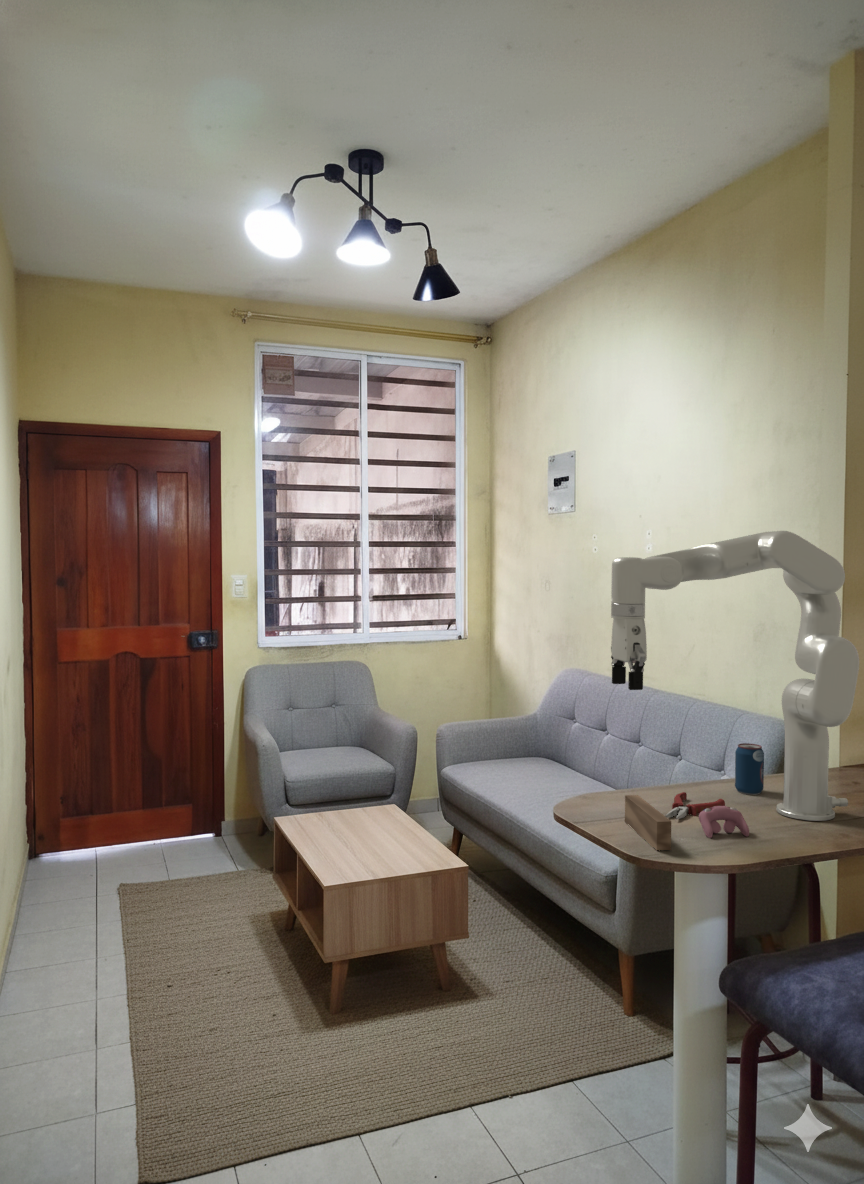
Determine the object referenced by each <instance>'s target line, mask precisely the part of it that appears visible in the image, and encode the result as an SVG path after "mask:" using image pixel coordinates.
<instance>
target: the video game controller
mask: <svg viewBox="0 0 864 1184" xmlns="http://www.w3.org/2000/svg"><path fill="white" fill-rule="evenodd" d="M698 821H699V822H700V825H701V828H702V830H703V833H704V834H705V835H706V837H707V838H708V839H712V838H713V834H718V833H720V832H721V831H722V829H723V831H724V832H725V833H726V834H731V833H733V832H734V831H735V828H736V827H737V829H738V830H739V831H740V833H741V834H742V835H743V836H744V837H749V835H750V829H749V826H748V824H747V822H746V820H745V818H744V816H743V813H742V812H740V810H739V809H738V808H737V807H730V806H727V805H725V806H714V807H710V808H707V809H704V810H703V811H702V812H700V813H699V814H698ZM718 821H724V823H723V825H722V826H721V824H720V823H719V822H718Z"/></svg>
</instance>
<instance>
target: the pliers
mask: <svg viewBox="0 0 864 1184" xmlns="http://www.w3.org/2000/svg"><path fill="white" fill-rule="evenodd" d="M687 797H688V796H687V792H685V791H682V792H680V793H677V794H676V795H675V796H674V799H673V803H672V805H671V807H672V808H671V810H670V811H669V812H667V813H666V814H665V815H664V816H665V817H666V818H668V819H669V818H674V817H673V816H675V820H680V819H684V818H686V817H687V816H688V814H689V816H690V814H691V816H693V817H697V814H698V815H699V814H700V812H702V811H703V810H704V809H707V808H710V807H714V806H726V802H725V800H724V799H722V798H719V799H717V800H716V801H710V802H701V803H694V804H690V803H688V804H685V805H684V800H685V801H686V800H687V799H688V798H687ZM677 814H678V815H677ZM685 816H686V817H685Z"/></svg>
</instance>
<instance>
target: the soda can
mask: <svg viewBox="0 0 864 1184" xmlns="http://www.w3.org/2000/svg"><path fill="white" fill-rule="evenodd" d="M762 747H763V746H762V745H761V744H756V743H748V742H745V743H738V744H737V748H736V750H735V753H734V754H735V757H734V758H735V759H734V761H735V762H734V763H735V764H734V787H735V789H736V791H737V792H738V793H739V794H744V795H748V796H749V795H750V796H751V795H752V796H755V795H760V794H761V793H762V792H763V790H764V785H765V784H764V780H765V779H764V778H765V777H764V774H765V752H764V750H763V748H762Z"/></svg>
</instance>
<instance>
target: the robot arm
mask: <svg viewBox="0 0 864 1184" xmlns="http://www.w3.org/2000/svg"><path fill="white" fill-rule="evenodd" d="M769 569H781V570H782V571H783V572H782V577H783V581H784V584H786V586H787V588H789V590H790V591H792V593H794V595H795V596H796V598H797V600H798V602H799V606H800V612H801V613H800V622H799V628H798V633H797V640H796V646H795V652H794V659H795V664H796V665H797V667H798V668H799V669H801V670H802V671H804V672H805V673H809V674H811V675H815V676H814V677H815V678H814V679H812V678H797V679H794V680H792V681H790V682H789V683H788V684H787V685H786V686H785V687H784V689H783V691H782V695H781V708H782V709H781V710H782V715H783V723H784V724H783V725H784V754H783V755H784V759H783V760H784V761H783V762H784V763H783V764H784V765H783V802H779V803H777V804H776V810H775V811H776V812H777V813H778V814H779V815H782V816H785V817H787V818H790V819H791V818H792V819H797V820H802V821H812V822H814V821H817V822H821V821H822V822H823V821H829V820H833V819H834V818H835V817H836V816H835V815H836V813H835V810H834V809H835V808H836V807H848V805H849V800H848V799H847V798H846V797H836V796H832V795H829V758H830V737H829V730H828V728H834V727H838V726H840V725H842V724H843V723H845V722H846V721H847V720H848V718H849V716H850V714H851V712H852V709H853V704H854V701H855V700H854V699H855V695H856V694H855V693H856V689H857V688H856V687H857V683H858V677H859V671H860V670H859V669H860V657H859V656H860V655H859V652H858V649H857V648H856V646H855V645H854V643H852V642H851V640H849V639H847V638H845V637H843V636H840V628H841V619H842V618H841V617H842V609H841V604H840V603H841V602H840V600H839V598H838V596H837V593H836V592H838V591H839V590H840V589H841V588H842V587H843V586H844V583H845V580H846V574H845V573H846V572H845V569H844V567H843V565H842V563H840V561H839V560H838V559H837V558H835V557H834V556H832V555H830V554H829V553H828V552H826V551H824V550H823V549H821V548H819V547H817V546H816V545H815V544H813V543H812V542H810V541H808V540H807V539H806V538H804V537H802V536H800V535H798V534H796V533H794V532H791V531H788V530H777V531H775V530H774V531H773V530H772V531H763V532H757V533H753V534H748V535H744V536H739V537H735V538H731V539H726V540H720V541H716V542H711V543H706V544H702V545H699V546H695V547H691V548H686V549H680V550H676V551H672V552H666V553H662V554H657V555H652V556H647V557H646V558H642V557H633V556H632V557H631V556H629V557H623V556H622V557H616V558H614V559H613V560H612V562H611V587H610V588H611V591H610V592H611V593H610V594H611V595H610V596H611V598H610V599H611V601H610V602H611V605H610V607H611V609H610V612H611V613H610V617H611V619H612V628H611V643H610V644H611V646H610V653H611V656H610V658H611V684H613V685H625V684H626V681H627V679H626V678H627V667H626V666H625V664H626V663H627V664H628V667H629V671H628V682H627V683H628V690H630V691H642V690H644V672H645V668H644V667H645V665H646V663H645V662H647V658H648V656H647V654H648V650H647V649H648V647H647V630H646V628H647V627H646V621H645V619H646V589H649V590H658V591H661V590H662V591H667V590H672V589H675V588H676V587H677V586H679V585H680V584H681V583H685V582H690V581H691V582H692V581H705V580H706V581H710V580H712V581H713V580H721V579H728V578H731V577H736V576H740V575H744V574H745V575H746V574H751V573H755V572H759V571H763V570H769Z"/></svg>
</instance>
